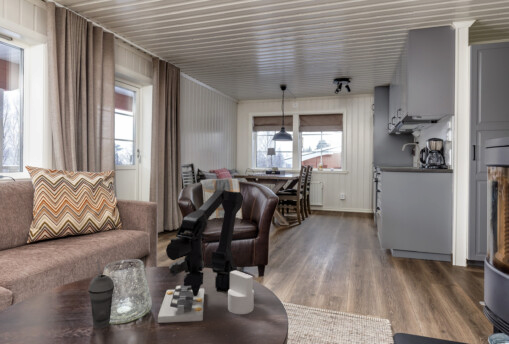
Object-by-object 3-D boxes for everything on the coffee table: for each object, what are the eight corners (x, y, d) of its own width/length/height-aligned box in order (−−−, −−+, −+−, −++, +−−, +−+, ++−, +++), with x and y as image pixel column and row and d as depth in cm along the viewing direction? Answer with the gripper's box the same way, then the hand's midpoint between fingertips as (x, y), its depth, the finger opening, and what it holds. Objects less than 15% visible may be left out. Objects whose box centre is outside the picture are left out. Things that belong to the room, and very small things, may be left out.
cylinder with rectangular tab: (222, 308, 111) (222, 274, 111) (240, 300, 118) (241, 268, 117) (240, 316, 105) (241, 281, 105) (258, 308, 112) (259, 274, 111)
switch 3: (191, 305, 107) (192, 302, 107) (191, 310, 103) (192, 307, 103) (171, 300, 106) (172, 297, 106) (169, 306, 102) (170, 303, 102)
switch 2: (193, 295, 114) (193, 292, 114) (192, 300, 110) (193, 296, 110) (173, 293, 113) (174, 290, 113) (172, 298, 109) (172, 295, 109)
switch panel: (204, 293, 123) (204, 281, 123) (202, 320, 102) (202, 305, 102) (167, 294, 121) (167, 282, 121) (157, 322, 100) (157, 307, 100)
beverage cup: (104, 332, 94) (104, 266, 94) (82, 329, 96) (82, 264, 95) (119, 320, 102) (119, 258, 101) (99, 318, 103) (99, 257, 102)
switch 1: (195, 285, 121) (194, 282, 121) (194, 289, 117) (194, 286, 117) (176, 288, 120) (176, 285, 120) (175, 292, 116) (174, 289, 116)
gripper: (173, 246, 120) (175, 287, 120) (166, 262, 101) (168, 310, 102) (203, 244, 121) (204, 284, 122) (202, 259, 103) (203, 306, 103)
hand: (195, 295), depth 112 cm, fingers closed, pressing on switch 2
